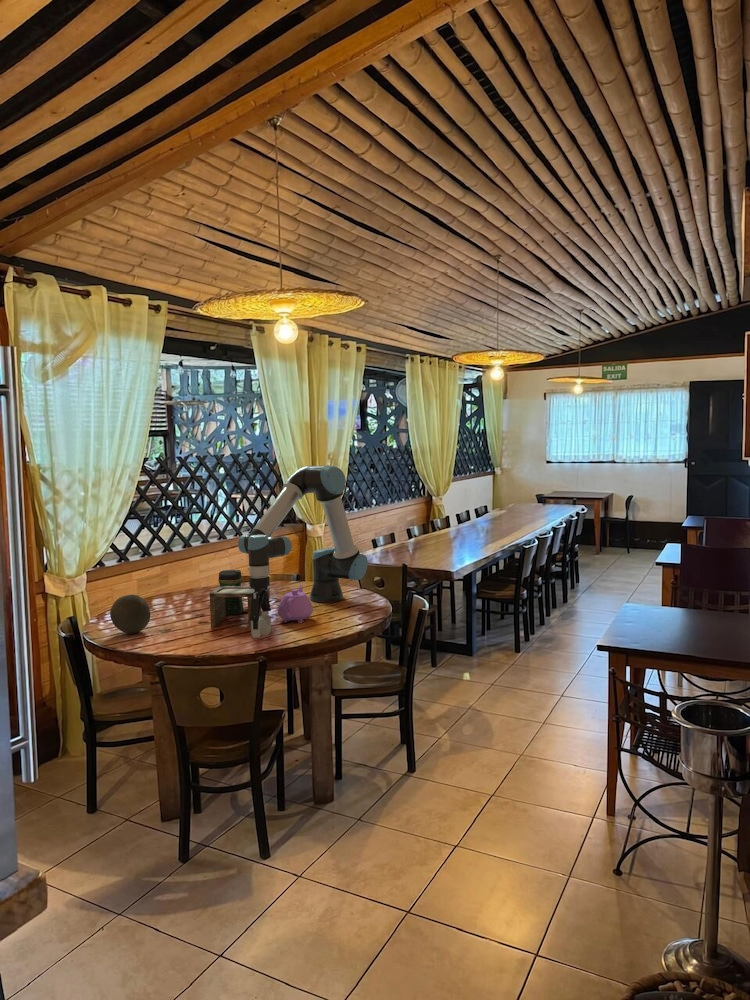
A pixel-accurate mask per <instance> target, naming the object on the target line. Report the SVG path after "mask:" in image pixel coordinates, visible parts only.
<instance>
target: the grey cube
mask: <svg viewBox="0 0 750 1000" xmlns="http://www.w3.org/2000/svg"><path fill="white" fill-rule="evenodd" d="M271 619H272V618H271V615H269V616H259V620H260V637H261V636H263V637H265V636H268V635H269V634H270V633H271V631H272V623H271ZM250 634H251V635H250V636H253V634H252V621H251V627H250Z"/></svg>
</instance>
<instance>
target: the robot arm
mask: <svg viewBox="0 0 750 1000" xmlns="http://www.w3.org/2000/svg"><path fill="white" fill-rule="evenodd" d="M346 480H347V479H346V475H345V473H344V471H343V470H342V469H341V468H339V467H338V466H335V465H307V466H303V467H301V468H299V469H297V470H296V471H295V472H294V473H293V474H291V475H290V477H289V478H287V480H286V481H285V482H284V483H283V484H282V490H281V492H280V493H279V494H278V495H277V497H276V498H275V499H274V500H273V502H272V503H271V505H270V506H269V507H268V508H267V510H266V511H265V513H264V514H263V516H261V518H260V519H259V520H258V521H257V523H256V524H255V526H254V527H253V528H252V530H251V531H250V533H249V534H243V535H240V537H239V539H238V541H237V547H238V551H240V552H241V553H243V554H247V556H248V567H247V571H248V572H249V574H248V575H249V583H248V584H249V586H250V587H251V588H254V589H255V590H254V593H252V594H251V595H252V601H251V613H250V621H252V634H253V635H252V639H258V638H259V639H260V638H261V636H260V620H259V614H260V608H261V611H262V612H261V616H270V615H269V614H270V613H269V612H271V611H272V608H271V605H270V598H269V596H268V588H269V587H270V585H271V583H270V582H271V581H270V576H269V575H270V560H271V559H273V558H278V557H284V556H287V555H289V554H290V553H291V551H292V547H293V546H292V541H291V539H290V538H289V537H288V536H286V535H285V536H284V535H283V536H280V535H279V536H273V534H274V533H275V532H276V530H277V528H279V526H280V524H281V523H282V522H283V520H284V519H285V517H286V516H287V515H288V514H289V512H290V511H291V509H292V508H293V507H294V505H295V504H296V503H297V501H299V500H302V498H303V497H304V496H305V495H306V494H307V495H308V494H315V498H316V500H317V502H320V503H321V506H322V509H323V512H324V517H325V520H326V523H327V526H328V529H329V532H330V536H331V540H332V543H333V547H330V548H322V549H321V548H320V549H317V550H314V551H313V553H312V576H313V577H312V579H313V581H312V587H311V590H310V593H309V600H310V601H312V602H314V603H334V602H339V601H342V600H343V599H344V592H343V590H342V587H341V584H340V581H339V580H340V579H345V580H350V581H358V580H362V579H363V577H364V576H365V575H366V572H367V569H368V566H369V565H368V557H367V556H366V555H365V554H364V553H361V551H360V548H359V547H358V546H357V545H356V544H354V540H353V537H352V532H351V529H350V525H349V521H348V518H347V515H346V510H345V507H344V503H343V500H342V496H343V495H344V491H345V489H346V486H347V485H346V483H347V481H346ZM254 616H255V617H254Z"/></svg>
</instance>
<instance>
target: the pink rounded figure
mask: <svg viewBox="0 0 750 1000" xmlns="http://www.w3.org/2000/svg"><path fill="white" fill-rule="evenodd" d="M303 590H304V589H303V584H300V585H299V586H298V589H295V588H294V589H291V592H287V593H285V594H284V595H283V596H282V598H281V599H280V600H279V601H280V602H279V604H278V608H277V615H278V616H279V617H280V618H281V619H283V621H282V622H284V623H285V624H286V622H288V623H290V621H297V623H298V622H299V623H298V624H302V623H301V622H304V620H307V619H306V618H308V619H309V618H310V616H311V615H312V614H313V612H314V606H313V604H312V602H311V600H310V597H309V596H308V595H307V593H305V592H304V591H303ZM304 623H305V622H304Z"/></svg>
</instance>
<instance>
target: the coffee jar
mask: <svg viewBox="0 0 750 1000" xmlns="http://www.w3.org/2000/svg"><path fill="white" fill-rule="evenodd" d="M217 581H218V583H219V587H220V586H242V585H241V584H242V582H243V576H242V571H241V570H239V569H227V570H226V569H225V570H224V569H223V570H221V571H219V573H218V580H217ZM243 601H244V600H243V597H225V611H226V616H234V615H239V614H240V615H241V614H242V613H243V612H244V602H243Z"/></svg>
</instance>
